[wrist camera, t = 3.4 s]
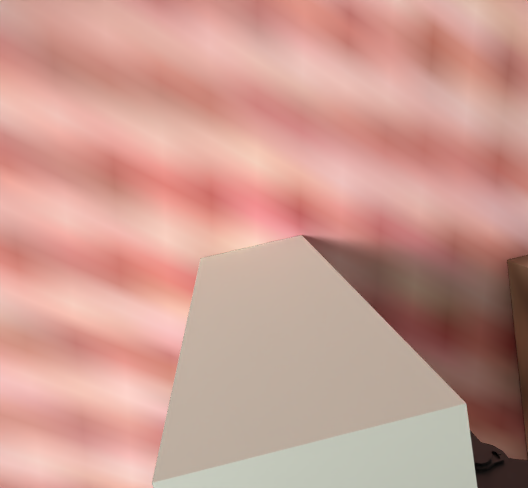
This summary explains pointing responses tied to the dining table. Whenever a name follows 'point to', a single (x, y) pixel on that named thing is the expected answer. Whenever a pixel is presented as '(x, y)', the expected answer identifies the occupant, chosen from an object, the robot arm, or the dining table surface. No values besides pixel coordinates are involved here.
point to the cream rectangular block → (303, 386)
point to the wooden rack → (521, 324)
